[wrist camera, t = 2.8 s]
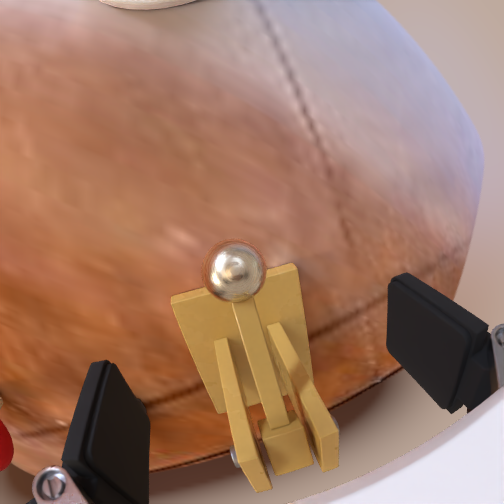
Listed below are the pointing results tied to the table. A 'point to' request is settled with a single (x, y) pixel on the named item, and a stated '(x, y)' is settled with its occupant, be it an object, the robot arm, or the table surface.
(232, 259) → the switch lever
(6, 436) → the red rounded lump
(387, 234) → the table surface
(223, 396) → the bracket
